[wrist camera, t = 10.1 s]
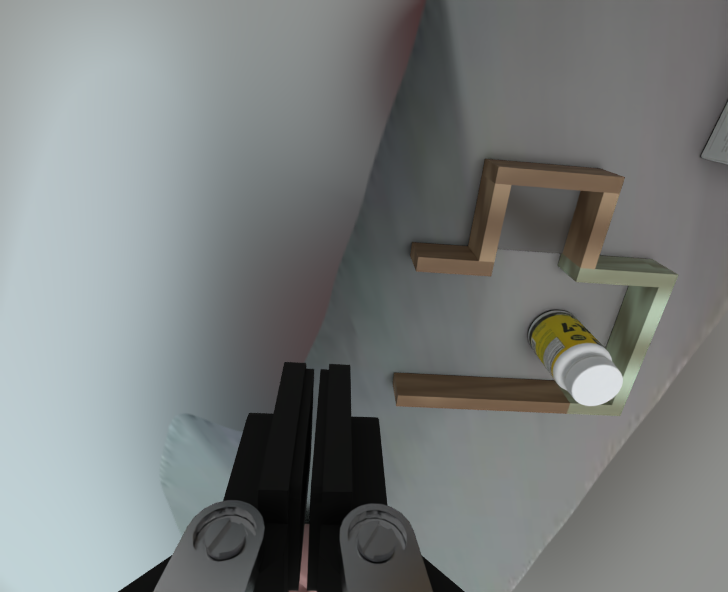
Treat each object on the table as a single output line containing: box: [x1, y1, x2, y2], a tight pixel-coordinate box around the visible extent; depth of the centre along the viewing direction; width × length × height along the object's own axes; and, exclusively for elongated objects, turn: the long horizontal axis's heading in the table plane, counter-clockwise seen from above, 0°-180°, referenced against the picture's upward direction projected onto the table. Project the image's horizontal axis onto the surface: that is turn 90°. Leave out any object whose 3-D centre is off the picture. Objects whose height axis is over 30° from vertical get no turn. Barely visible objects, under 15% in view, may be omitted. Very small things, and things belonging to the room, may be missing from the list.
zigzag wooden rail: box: [393, 159, 678, 416], centre depth 39 cm, size 22×21×4 cm
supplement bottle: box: [528, 311, 623, 406], centre depth 39 cm, size 5×5×8 cm
